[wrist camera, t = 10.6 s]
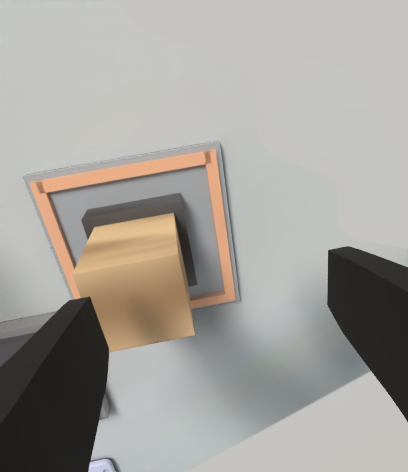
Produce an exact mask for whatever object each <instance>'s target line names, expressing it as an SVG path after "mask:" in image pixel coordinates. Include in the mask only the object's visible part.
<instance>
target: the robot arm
mask: <svg viewBox="0 0 408 472" xmlns="http://www.w3.org/2000/svg"><path fill="white" fill-rule="evenodd" d="M327 305H328V307H329V309H330V310H331V312H332V314H333V316H334V318H335V320H336V322H337V323H338V325H339V327H340V328H341V330H342V332H343V333H344V335H345V336H346V338H347V339H348V340H349V342H350V343H351V344H352V346H353V347H354V349H355V350H356V351H357V353H358V354H359V355H360V357H361V358H362V359H363V361H364V362H365V363H366V365H367V366H368V367H369V369H370V370H371V371H372V373H373V374H374V375H375V376H376V378H377V379H378V380H379V382H380V383H381V384H382V386H383V387H384V388H385V389H386V391H387V392H388V394H389V395H390V396H391V398H392V399H393V401H394V402H395V403H396V405H397V406H398V408H399V409H400V411H401V412H402V414H403V415H404V417H405V418H406V420H407V422H408V267H405V266H403V265H400V264H397V263H395V262H392V261H389V260H387V259H384V258H381V257H379V256H376V255H373V254H370V253H368V252H365V251H362V250H359V249H356V248H352V247H349V246H347V247H342V248H337V249H332V250H328V303H327ZM108 361H109V347H108V344H107V341H106V339H105V336H104V333H103V331H102V328H101V325H100V322H99V320H98V317H97V314H96V312H95V309H94V306H93V303H92V301H91V298H90V296H89V297H84V298H79V299H74V300H69V301H68V302H67V303H66V304H64V305H63V306H62V307H61V308H60V309H59V310H58V311H57V312H56V313H55V314H54V315H53V316H52V317H51V318H50V319H49V320H48V321H47V322H46V323H45V324H44V325H43V326H42V327H41V328H40V329H39V330H38V331H37V332H36V333H35V334H34V335H33V336H32V337H31V338H30V339H29V340H28V341H27V342H26V343H25V344H24V345H23V346H22V347H21V348H20V349H19V350H18V351H17V352H16V353H15V354H14V355H13V356H11V357H10V358H9V359H8V360H7V361H6V362H5V363H4V364H3V365H2V366H1V367H0V472H116V471H115V469H114V466H113V464H112V462H111V461H110V460H109V459H102V460H98V461H93V462H90V460H91V455H92V451H93V446H94V441H95V436H96V432H97V427H98V422H99V417H100V413H101V408H102V403H103V398H104V393H105V388H106V383H107V374H108Z"/></svg>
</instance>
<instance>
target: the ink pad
mask: <svg viewBox="0 0 408 472" xmlns="http://www.w3.org/2000/svg"><path fill="white" fill-rule="evenodd" d="M55 313H56V312H52V313H47V314H42V315H37V316H32V317H26V318H21V319H16V320H11V321H6V322H1V323H0V367H1V366H2V365H3V364H4V363H5V362H6V361H7V360H8V359H9V358H10V357H11V356H13V355H14V354H15V353H16V352H17V351H18V350H19V349H20V348H21V347H22V346H23V345H24V344H25V343H26V342H27V341H28V340H29V339H30V338H31V337H32V336H33V335H34V334H35V333H36V332H37V331H38V330H39V329H40V328H41V327H42V326H43V325H44V324H45V323H46V322H47V321H48V320H49V319H50V318H51V317H52V316H53V315H54V314H55ZM109 409H110V404H109V402H108V399H107V397H106V394H105V393H104V398H103V403H102V408H101V413H100V417H99V420H101V419H106V418H108V416H109Z"/></svg>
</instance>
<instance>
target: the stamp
mask: <svg viewBox="0 0 408 472" xmlns="http://www.w3.org/2000/svg"><path fill="white" fill-rule="evenodd" d="M81 221H82V224H83V227H84V230H85V233H86V236H87V239H88V242H87V244H86V246H85V248H84V250H83V252H82V254H81V256H80V259H79V261H78V263H77V265H76V267H75V269H74V271H73V273H72V276H73V279H74V281H75V284H76V286H77V289H78V292H79V294H80V297H81V298H84V297H89V296H90V298H91V301H92V303H93V306H94V309H95V312H96V314H97V317H98V320H99V322H100V325H101V328H102V331H103V333H104V336H105V339H106V341H107V344H108V347H109V352H114V351H119V350H124V349H129V348H134V347H139V346H144V345H149V344H154V343H159V342H164V341H169V340H174V339H179V338H184V337H188V336H193V335H195V332H194V325H193V318H192V310H191V303H190V295H189V288H188V287H190V286H195V285H197V279H196V274H195V268H194V263H193V258H192V252H191V247H190V242H189V236H188V231H187V226H186V220H185V215H184V210H183V205H182V199H181V194H180V193H176V194H170V195H165V196H159V197H153V198H148V199H142V200H137V201H131V202H126V203H120V204H115V205H109V206H104V207H98V208H92V209H87V211H86V212H85V214H84V216H83V218H82V219H81Z"/></svg>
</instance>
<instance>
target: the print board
mask: <svg viewBox="0 0 408 472" xmlns="http://www.w3.org/2000/svg"><path fill="white" fill-rule="evenodd" d="M23 179H24V181H25V184H26V186H27V189H28V191H29V194H30V196H31V199H32V201H33V204H34V206H35V209H36V211H37V214H38V216H39V219H40V221H41V224H42V226H43V229H44V231H45V234H46V236H47V239H48V241H49V244H50V246H51V249H52V251H53V254H54V256H55V259H56V261H57V264H58V266H59V269H60V271H61V274H62V276H63V279H64V281H65V284H66V286H67V289H68V291H69V294H70V296H71V299H72V300H74V299H79V298H81V297H80V294H79V292H78V289H77V286H76V284H75V281H74V279H73V276H72V273H73V271H74V269H75V267H76V265H77V263H78V261H79V259H80V256H81V254H82V252H83V250H84V248H85V246H86V244H87V242H88V239H87V236H86V233H85V230H84V227H83V224H82V221H81V219H82V218H83V216H84V214H85V212H86V211H87V209H92V208H98V207H104V206H109V205H115V204H120V203H126V202H131V201H137V200H142V199H148V198H153V197H159V196H165V195H170V194H176V193H180V194H181V199H182V205H183V210H184V215H185V220H186V226H187V231H188V236H189V242H190V247H191V252H192V258H193V263H194V268H195V274H196V279H197V285H195V286H190V287H188V288H189V295H190V303H191V310H194V309H199V308H204V307H209V306H214V305H219V304H224V303H229V302H234V301H239V300H240V297H239V290H238V282H237V274H236V266H235V258H234V250H233V242H232V234H231V226H230V218H229V210H228V203H227V195H226V187H225V179H224V171H223V163H222V155H221V147H220V142H219V141H215V142H209V143H203V144H198V145H192V146H186V147H181V148H175V149H169V150H164V151H158V152H152V153H147V154H141V155H135V156H130V157H124V158H118V159H112V160H107V161H101V162H95V163H90V164H84V165H78V166H73V167H67V168H61V169H56V170H50V171H44V172H39V173H33V174H27V175H25V176H24V177H23Z"/></svg>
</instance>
